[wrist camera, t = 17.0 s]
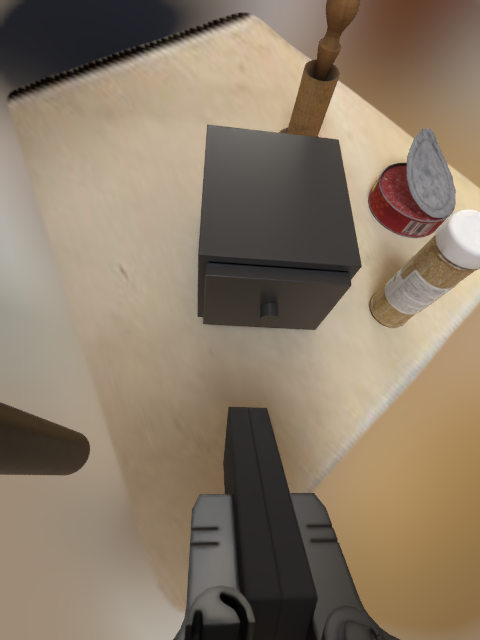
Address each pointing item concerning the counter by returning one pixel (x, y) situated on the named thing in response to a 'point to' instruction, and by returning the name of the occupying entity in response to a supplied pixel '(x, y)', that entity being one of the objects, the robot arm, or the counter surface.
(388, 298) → the sprinkles bottle
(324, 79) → the mortar and pestle
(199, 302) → the small drawer cabinet
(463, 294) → the counter surface
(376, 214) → the canned food
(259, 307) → the pull-out drawer box
